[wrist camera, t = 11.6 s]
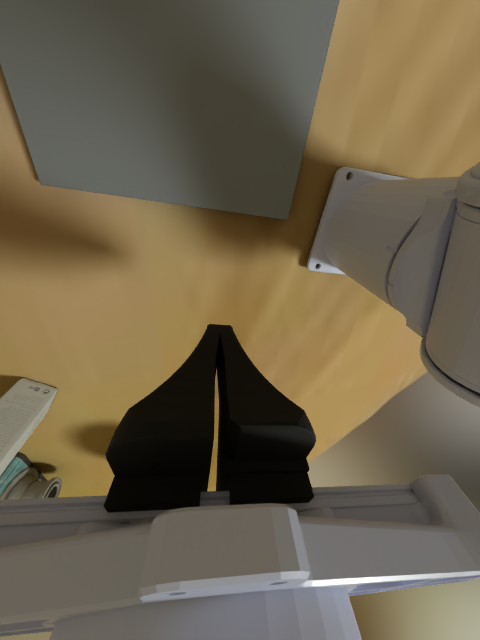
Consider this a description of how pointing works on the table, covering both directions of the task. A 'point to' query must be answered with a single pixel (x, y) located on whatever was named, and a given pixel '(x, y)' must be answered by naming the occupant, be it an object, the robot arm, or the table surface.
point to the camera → (26, 481)
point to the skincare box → (21, 415)
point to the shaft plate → (168, 95)
